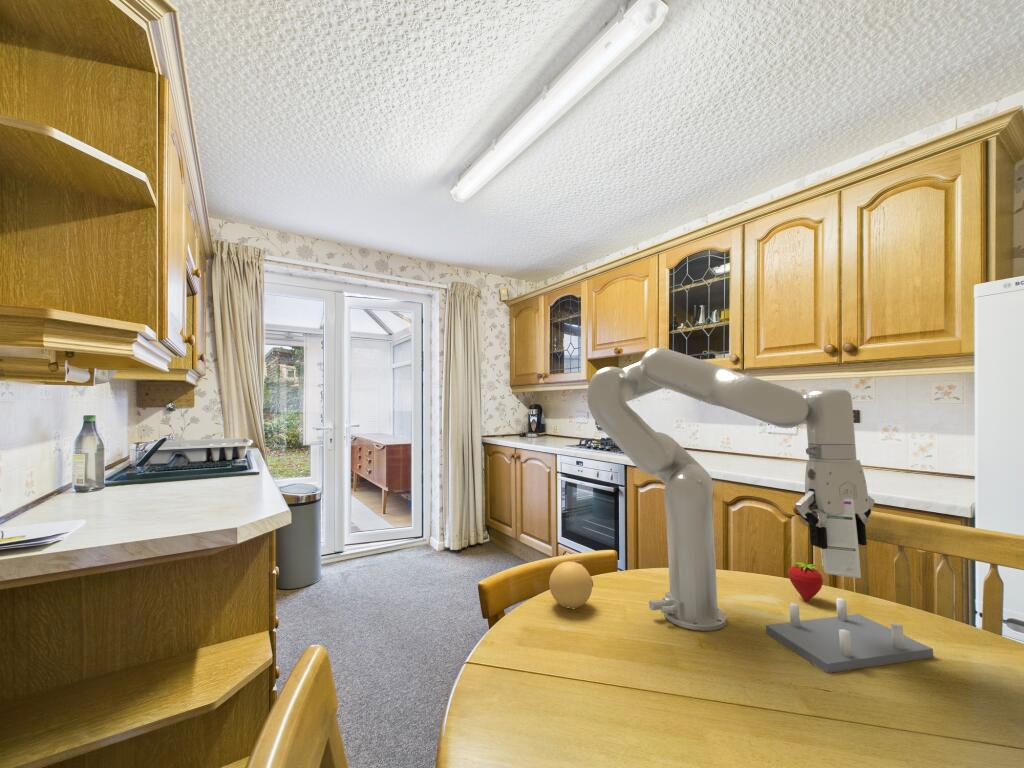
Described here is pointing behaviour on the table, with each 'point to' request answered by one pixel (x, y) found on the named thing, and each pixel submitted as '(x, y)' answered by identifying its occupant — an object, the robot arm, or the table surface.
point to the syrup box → (842, 543)
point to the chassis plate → (861, 643)
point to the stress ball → (570, 584)
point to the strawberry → (805, 579)
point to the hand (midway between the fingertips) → (838, 544)
